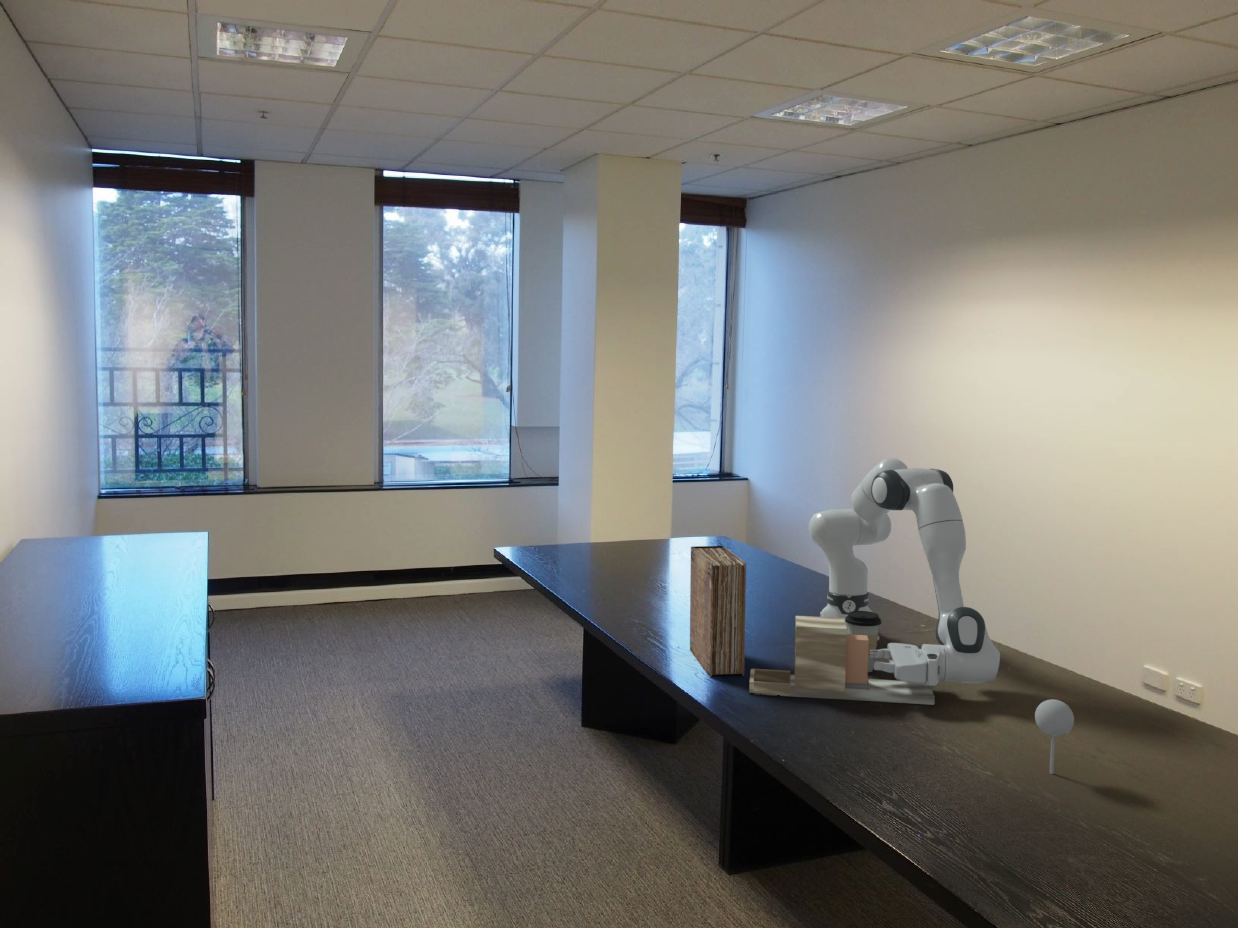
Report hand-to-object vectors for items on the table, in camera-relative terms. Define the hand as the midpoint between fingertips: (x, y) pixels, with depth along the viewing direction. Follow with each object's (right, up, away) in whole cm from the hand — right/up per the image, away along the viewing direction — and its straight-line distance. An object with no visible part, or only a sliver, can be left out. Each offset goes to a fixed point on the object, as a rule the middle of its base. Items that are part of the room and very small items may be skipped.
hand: (871, 659), depth 243 cm
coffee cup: (+2, -7, +21) cm, 22 cm away
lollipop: (+24, -14, -46) cm, 54 cm away
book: (-36, -6, +26) cm, 45 cm away
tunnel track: (-8, -8, +2) cm, 12 cm away
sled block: (-7, -6, +2) cm, 9 cm away
